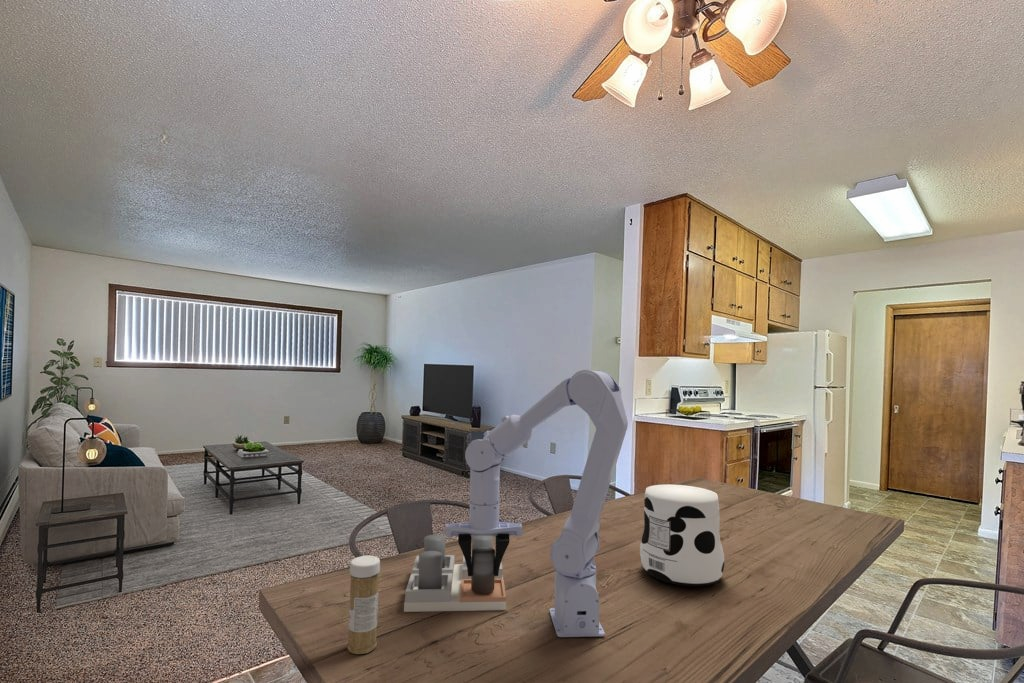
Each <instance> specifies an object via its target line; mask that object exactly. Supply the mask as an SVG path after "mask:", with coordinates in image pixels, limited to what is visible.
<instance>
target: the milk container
mask: <svg viewBox="0 0 1024 683" xmlns="http://www.w3.org/2000/svg"><path fill="white" fill-rule="evenodd" d="M643 501H644V502H643V503H644V507H643V516H644V517H643V519H644V520H643V521H644V524H643V526H644V527H643V531H642V536H641V540H640V543H639V555H640V561H641V565H642V567H643V569H644V570H645V572H646V573H648V574H649V575H650V576H652V577H654V578H656V579H657V580H659V581H662V582H664V583H665V582H666V583H667V584H673V585H677V586H682V587H683V586H684V587H705V586H710V585H712V584H715V583H717V582H718V581H719V580H720V579H721V578H722V576H723V574H724V568H725V552H724V549H723V545H722V541H721V537H720V523H721V522H720V518H721V516H720V502H719V497H718V493H717V492H714V491H713V490H710V489H707V488H704V487H698V486H692V485H683V484H654V485H649V486H647V487H646V488H645V492H644V500H643Z"/></svg>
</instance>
